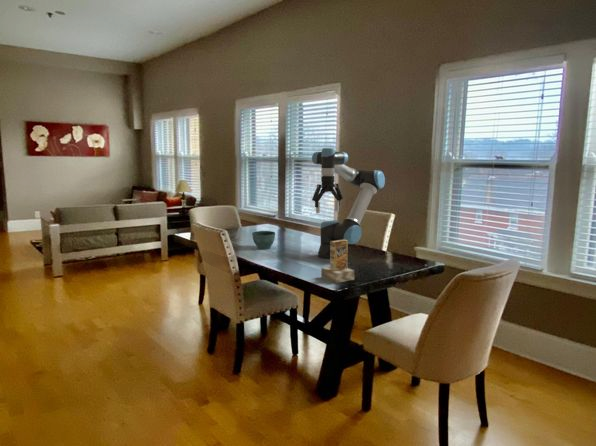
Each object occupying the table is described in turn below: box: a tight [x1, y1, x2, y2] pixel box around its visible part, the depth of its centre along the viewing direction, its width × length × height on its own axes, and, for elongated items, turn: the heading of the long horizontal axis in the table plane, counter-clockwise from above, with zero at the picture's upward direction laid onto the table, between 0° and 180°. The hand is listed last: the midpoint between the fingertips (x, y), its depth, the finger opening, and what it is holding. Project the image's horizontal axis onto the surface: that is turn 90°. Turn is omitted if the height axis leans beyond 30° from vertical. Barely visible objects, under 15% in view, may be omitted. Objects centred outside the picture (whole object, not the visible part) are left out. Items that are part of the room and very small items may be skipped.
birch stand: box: [320, 266, 356, 284], centre depth 230 cm, size 12×13×5 cm
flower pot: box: [251, 230, 276, 250], centre depth 304 cm, size 16×16×11 cm
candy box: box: [329, 239, 349, 271], centre depth 229 cm, size 9×4×15 cm, turn 124°
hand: (327, 212), depth 252 cm, fingers open, 13 cm apart
